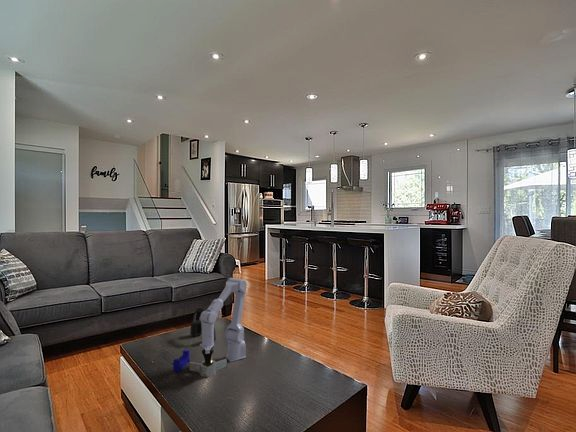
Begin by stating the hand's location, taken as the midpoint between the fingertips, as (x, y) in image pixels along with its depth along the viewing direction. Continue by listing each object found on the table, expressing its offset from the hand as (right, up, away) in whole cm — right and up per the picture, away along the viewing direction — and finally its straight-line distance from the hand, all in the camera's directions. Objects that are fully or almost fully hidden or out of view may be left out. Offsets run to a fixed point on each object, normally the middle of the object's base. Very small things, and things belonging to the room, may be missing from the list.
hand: (208, 361), depth 156 cm
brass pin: (0, -2, 0) cm, 2 cm away
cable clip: (-17, -6, +8) cm, 19 cm away
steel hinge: (0, -6, +3) cm, 6 cm away
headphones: (-15, -6, +44) cm, 47 cm away
